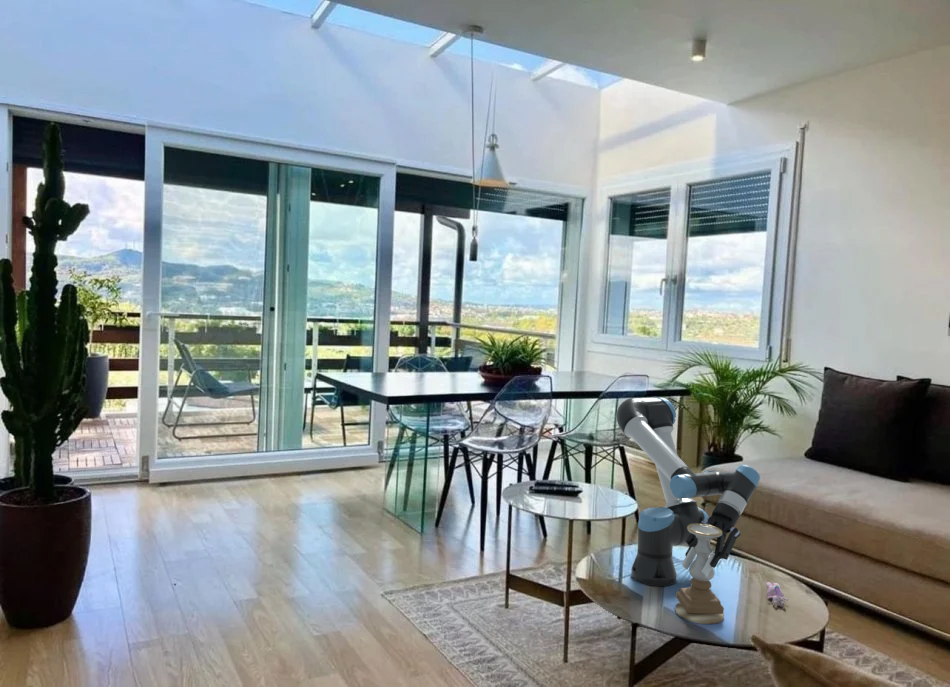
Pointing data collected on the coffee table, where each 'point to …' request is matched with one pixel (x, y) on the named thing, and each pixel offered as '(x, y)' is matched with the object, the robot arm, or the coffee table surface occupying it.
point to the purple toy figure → (776, 595)
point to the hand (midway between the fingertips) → (694, 570)
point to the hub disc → (698, 616)
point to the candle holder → (701, 574)
